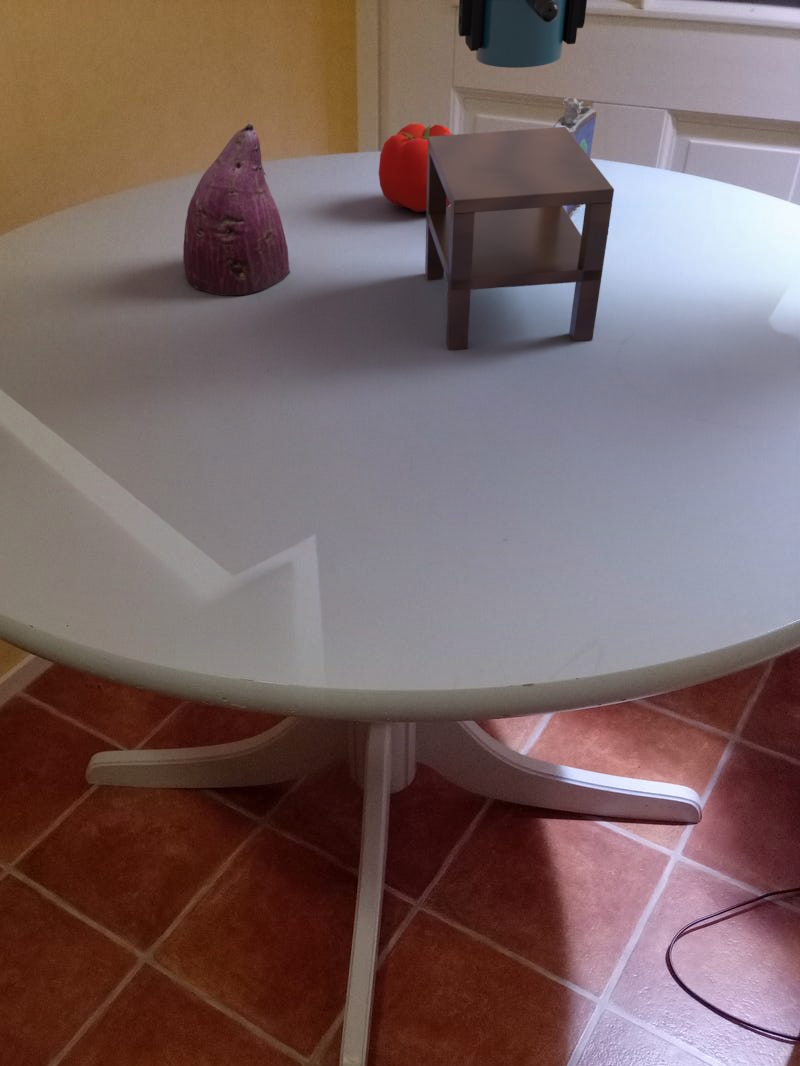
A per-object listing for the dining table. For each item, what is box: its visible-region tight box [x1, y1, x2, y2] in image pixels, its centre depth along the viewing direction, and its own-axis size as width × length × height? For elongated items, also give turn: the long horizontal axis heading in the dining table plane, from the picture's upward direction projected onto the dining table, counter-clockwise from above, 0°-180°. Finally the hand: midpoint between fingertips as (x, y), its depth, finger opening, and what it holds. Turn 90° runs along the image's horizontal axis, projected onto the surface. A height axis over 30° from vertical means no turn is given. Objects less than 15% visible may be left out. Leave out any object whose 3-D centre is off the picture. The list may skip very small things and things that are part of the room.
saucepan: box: [475, 0, 567, 69], centre depth 70 cm, size 6×12×6 cm, turn 2°
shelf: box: [424, 127, 615, 351], centre depth 83 cm, size 12×16×12 cm
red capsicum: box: [378, 123, 454, 213], centre depth 103 cm, size 9×9×8 cm
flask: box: [552, 96, 597, 218], centre depth 98 cm, size 9×3×11 cm, turn 152°
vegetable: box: [182, 121, 291, 296], centre depth 91 cm, size 10×10×15 cm
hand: (519, 41), depth 74 cm, fingers closed on saucepan, 6 cm apart
